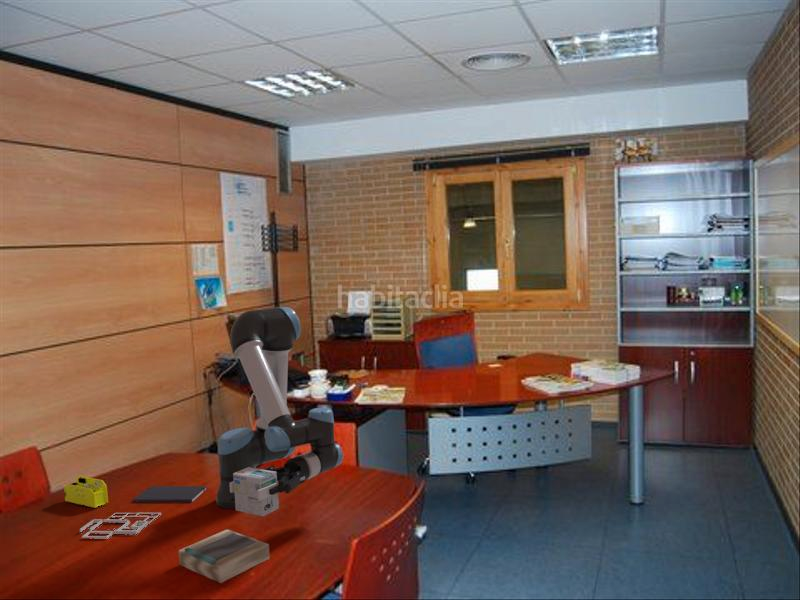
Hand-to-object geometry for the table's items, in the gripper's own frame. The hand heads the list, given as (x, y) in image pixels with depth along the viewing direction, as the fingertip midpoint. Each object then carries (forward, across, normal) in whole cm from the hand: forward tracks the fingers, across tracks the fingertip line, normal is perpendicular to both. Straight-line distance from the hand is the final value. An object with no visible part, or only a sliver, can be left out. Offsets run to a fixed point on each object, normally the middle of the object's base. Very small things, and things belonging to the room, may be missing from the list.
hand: (244, 491), depth 185 cm
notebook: (-17, +60, -19) cm, 65 cm away
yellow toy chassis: (+3, +80, -19) cm, 82 cm away
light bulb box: (-4, 0, -7) cm, 8 cm away
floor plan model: (+11, +50, -19) cm, 54 cm away
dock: (+6, +3, -18) cm, 19 cm away
